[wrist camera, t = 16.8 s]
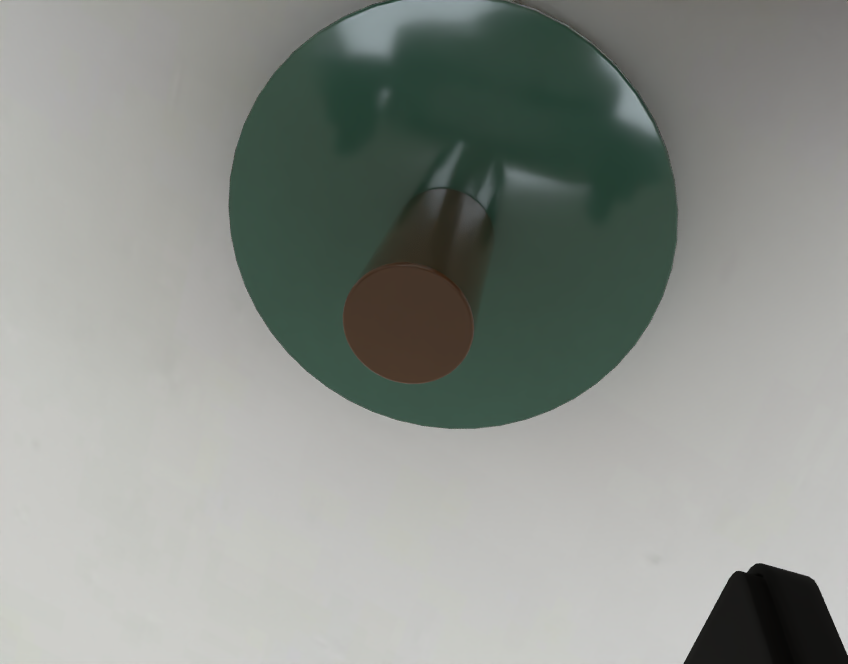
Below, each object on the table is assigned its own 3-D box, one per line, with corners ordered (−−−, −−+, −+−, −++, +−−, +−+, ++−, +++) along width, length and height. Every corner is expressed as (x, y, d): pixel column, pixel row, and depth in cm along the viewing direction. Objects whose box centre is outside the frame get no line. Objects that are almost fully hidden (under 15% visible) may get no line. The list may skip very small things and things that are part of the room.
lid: (744, 58, 17) (834, 107, 11) (589, 450, 22) (600, 618, 16) (275, -63, 17) (143, -73, 12) (224, 347, 22) (112, 477, 17)
